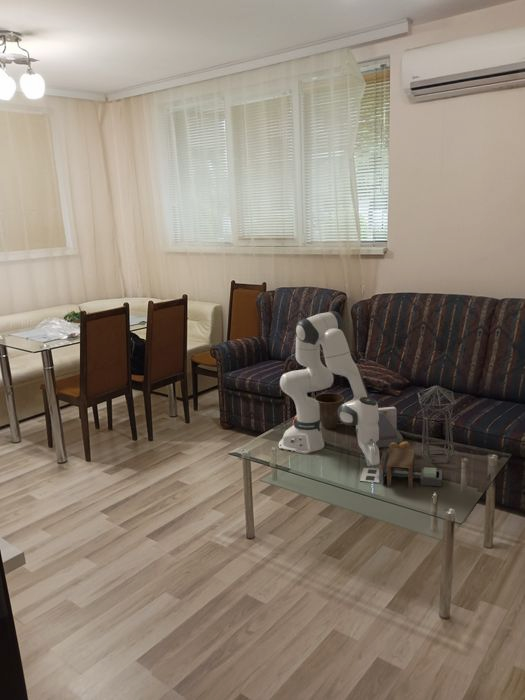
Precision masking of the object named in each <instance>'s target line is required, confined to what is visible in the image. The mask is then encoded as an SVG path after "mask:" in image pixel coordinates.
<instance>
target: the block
mask: <svg viewBox="0 0 525 700" xmlns="http://www.w3.org/2000/svg"><path fill="white" fill-rule="evenodd" d="M423 469H424V472H423V477H429V478H436V470H437V467H426V466H425V467H423Z"/></svg>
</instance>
